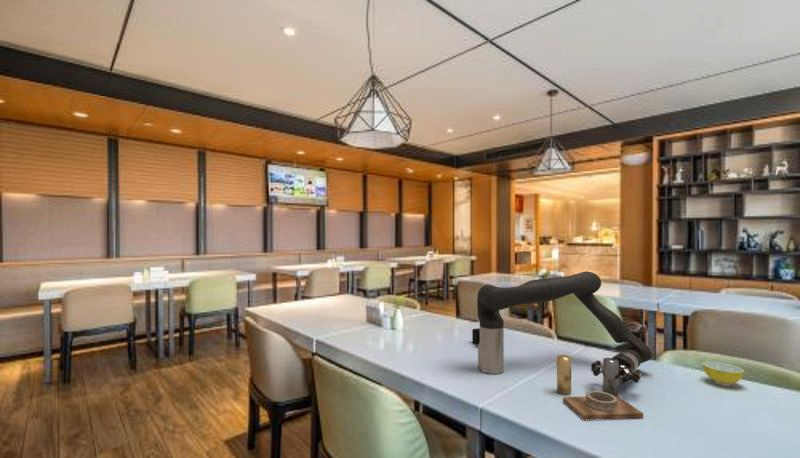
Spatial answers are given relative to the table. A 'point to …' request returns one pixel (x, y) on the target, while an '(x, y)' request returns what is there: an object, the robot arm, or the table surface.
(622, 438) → the table surface
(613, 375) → the steel peg
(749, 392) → the table surface
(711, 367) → the bowl
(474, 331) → the digital camera
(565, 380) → the brass peg
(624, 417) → the socket board
